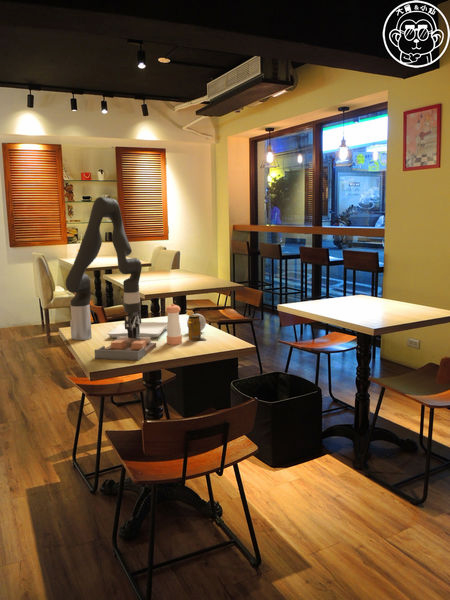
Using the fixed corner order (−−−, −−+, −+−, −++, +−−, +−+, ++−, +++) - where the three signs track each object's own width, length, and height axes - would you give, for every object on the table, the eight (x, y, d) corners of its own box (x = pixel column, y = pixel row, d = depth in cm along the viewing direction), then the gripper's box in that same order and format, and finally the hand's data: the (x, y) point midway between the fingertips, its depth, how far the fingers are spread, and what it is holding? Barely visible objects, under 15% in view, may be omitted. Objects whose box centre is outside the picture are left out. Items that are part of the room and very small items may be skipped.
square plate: (171, 328, 287) (170, 321, 287) (160, 340, 260) (159, 332, 260) (123, 328, 290) (122, 321, 289) (107, 340, 263) (106, 332, 262)
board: (103, 353, 237) (103, 349, 237) (116, 345, 250) (116, 341, 250) (145, 355, 233) (145, 350, 232) (156, 347, 246) (156, 342, 246)
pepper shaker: (181, 344, 250) (179, 304, 247) (166, 344, 250) (164, 305, 247) (182, 340, 257) (180, 302, 254) (167, 341, 257) (165, 302, 254)
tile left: (111, 347, 239) (110, 342, 238) (115, 345, 243) (115, 339, 243) (121, 348, 238) (121, 342, 237) (125, 345, 242) (125, 340, 242)
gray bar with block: (116, 343, 246) (115, 327, 245) (119, 342, 249) (118, 325, 247) (149, 344, 242) (148, 328, 241) (151, 343, 245) (150, 326, 244)
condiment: (186, 338, 262) (186, 315, 260) (203, 337, 264) (202, 313, 262) (189, 341, 255) (188, 317, 253) (206, 340, 257) (205, 316, 255)
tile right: (131, 348, 236) (131, 343, 236) (135, 345, 241) (135, 340, 241) (142, 349, 235) (141, 343, 235) (146, 346, 240) (145, 340, 240)
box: (95, 358, 228) (94, 349, 228) (103, 353, 237) (103, 345, 236) (138, 360, 224) (137, 351, 223) (145, 355, 232) (145, 346, 232)
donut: (188, 333, 272) (187, 314, 270) (186, 332, 275) (186, 313, 273) (206, 332, 274) (206, 313, 273) (205, 330, 278) (204, 312, 276)
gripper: (130, 298, 250) (132, 332, 253) (118, 304, 236) (120, 339, 239) (145, 299, 248) (146, 332, 251) (133, 304, 235) (135, 339, 237)
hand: (133, 335), depth 245 cm, fingers open, 8 cm apart
